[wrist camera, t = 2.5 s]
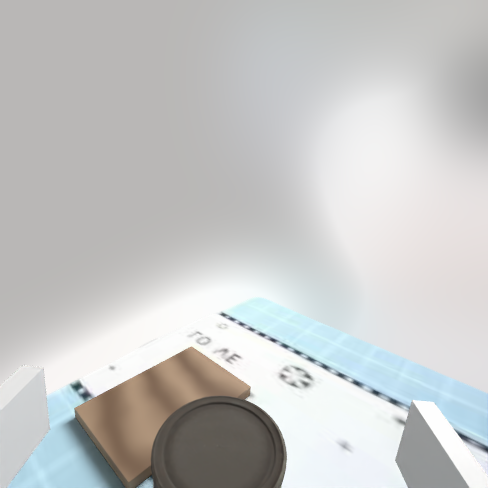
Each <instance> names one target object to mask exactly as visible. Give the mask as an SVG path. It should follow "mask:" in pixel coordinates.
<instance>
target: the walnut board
mask: <svg viewBox="0 0 488 488" xmlns="http://www.w3.org/2000/svg"><path fill="white" fill-rule="evenodd" d="M249 395H250V386H249V385H247V384H246V383H244V382H243V381H241V380H240V379H238V378H237V377H235V376H234V375H233V374H231V373H230V372H228V371H227V370H225V369H224V368H222V367H221V366H219V365H218V364H216V363H215V362H213V361H212V360H211V359H209V358H208V357H206V356H205V355H203V354H202V353H200V352H199V351H197V350H196V349H194V348H193V347H190V348H188V349H186V350H184V351H182V352H180V353H178V354H176V355H175V356H173V357H171V358H169V359H167V360H165V361H163V362H161V363H159V364H157V365H156V366H154V367H152V368H150V369H148V370H146V371H144V372H142V373H140V374H138V375H137V376H135V377H133V378H131V379H129V380H127V381H125V382H123V383H121V384H119V385H118V386H116V387H114V388H112V389H110V390H108V391H106V392H104V393H102V394H101V395H99V396H97V397H95V398H93V399H91V400H89V401H87V402H85V403H83V404H82V405H80V406H78V407H76V408H74V409H75V417H76V419H77V420H78V421H79V423H80V424H81V426H82V427H83V428H84V430H85V431H86V433H87V434H88V436H89V437H90V438H91V440H92V441H93V443H94V444H95V445H96V447H97V448H98V450H99V451H100V452H101V454H102V455H103V457H104V458H105V459H106V461H107V462H108V464H109V465H110V466H111V468H112V469H113V471H114V472H115V473H116V475H117V476H118V478H119V479H120V480H121V482H122V483H123V485H124V486H125V487H126V488H136V487H137V486H138V485H140V484H141V483H142V482H143V481H144V480H146V479H147V478H148V477H149V476H151V475H152V471H151V451H152V446H153V442H154V439H155V437H156V435H157V433H158V431H159V429H160V428H161V426H162V425H163V423H164V422H165V421H166V420H167V418H168V417H169V416H170V415H171V414H172V413H174V412H175V411H176V410H177V409H179V408H180V407H182V406H183V405H185V404H187V403H189V402H191V401H194V400H197V399H200V398H204V397H208V396H231V397H236V398H240V399H243V400H244V399H245V398H247V397H248V396H249Z"/></svg>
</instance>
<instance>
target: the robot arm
mask: <svg viewBox="0 0 488 488" xmlns="http://www.w3.org/2000/svg"><path fill="white" fill-rule="evenodd" d="M44 378H45V377H44V369H43V367H32V366H21V367H20V368H19V369H18V370H17V371H15V372H14V374H12V375H11V376H10V377H9V378H8V379H7V380H6V381H4V382H3V383H2V384H1V385H0V488H7V487H8V485H9V484H10V483H11V481H12V480H13V479H14V477H15V476H16V475H17V473H18V472H19V471H20V469H21V468H22V467H23V465H24V464H25V463H26V461H27V460H28V458H29V457H30V456H31V454H32V453H33V452H34V450H35V449H36V448H37V446H38V445H39V444H40V442H41V441H42V440H43V438H44V437H45V435H46V434H47V433H48V431H49V430H50V425H49V416H48V406H47V397H46V388H45V379H44ZM395 461H396V463H397V465H398V467H399V469H400V471H401V473H402V475H403V478H404V480H405V482H406V484H407V486H408V488H488V475H487V474H486V472H485V471H484V470H483V468H482V467H481V465H480V464H479V463H478V461H477V460H476V459H475V457H474V456H473V455H472V453H471V452H470V451H469V449H468V448H467V447H466V445H465V444H464V443H463V441H462V440H461V438H460V437H459V436H458V434H457V433H456V432H455V430H454V429H453V428H452V426H451V425H450V424H449V422H448V421H447V420H446V418H445V417H444V415H443V414H442V413H441V411H440V410H439V409H438V407H437V406H436V405H435V403H434V402H426V401H415V400H412V403H411V406H410V410H409V413H408V417H407V420H406V424H405V428H404V431H403V435H402V438H401V442H400V445H399V449H398V452H397V456H396V460H395Z"/></svg>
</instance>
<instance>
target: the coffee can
mask: <svg viewBox="0 0 488 488" xmlns="http://www.w3.org/2000/svg"><path fill="white" fill-rule="evenodd" d="M286 461H287V453H286V446H285V442H284V439H283V436H282V434H281V431H280V429H279V427H278V426H277V424H276V423H275V422H274V420H273V419H272V418H271V417H270V416H269V415H268V414H267V413H266V412H265V411H264V410H262V409H261V408H259V407H258V406H256V405H255V404H253V403H251V402H248V401H246V400H243V399H240V398H236V397H231V396H208V397H204V398H200V399H197V400H194V401H191V402H189V403H187V404H185V405H183V406H182V407H180V408H179V409H177V410H176V411H175V412H174V413H172V414H171V415H170V416H169V417H168V418H167V420H166V421H165V422H164V423H163V425H162V426H161V428H160V429H159V431H158V433H157V435H156V437H155V439H154V442H153V446H152V451H151V471H152V477H153V488H281V485H282V482H283V478H284V474H285V470H286Z"/></svg>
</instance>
